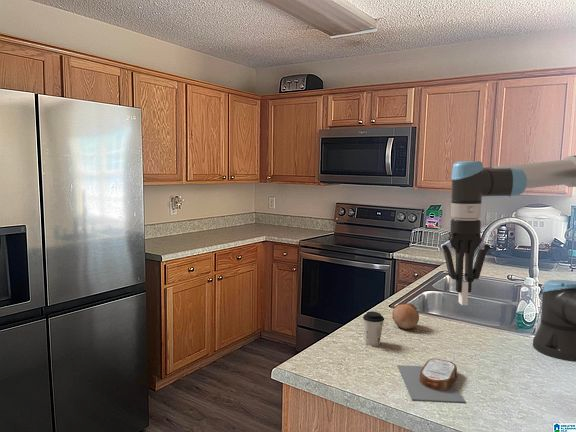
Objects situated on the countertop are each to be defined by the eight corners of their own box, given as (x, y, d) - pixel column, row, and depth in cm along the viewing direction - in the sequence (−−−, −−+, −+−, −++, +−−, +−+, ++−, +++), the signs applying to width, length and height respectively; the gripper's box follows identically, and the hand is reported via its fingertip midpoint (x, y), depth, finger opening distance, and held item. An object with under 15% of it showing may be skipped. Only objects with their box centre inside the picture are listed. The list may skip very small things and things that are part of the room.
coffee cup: (386, 346, 140) (387, 317, 139) (366, 348, 139) (367, 317, 138) (378, 338, 147) (379, 310, 145) (359, 339, 145) (360, 311, 144)
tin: (459, 370, 123) (429, 365, 127) (459, 360, 123) (428, 355, 127) (448, 393, 110) (415, 387, 114) (448, 381, 110) (415, 375, 114)
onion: (410, 333, 160) (420, 308, 162) (415, 335, 151) (426, 309, 152) (386, 322, 162) (396, 297, 163) (390, 323, 153) (400, 297, 154)
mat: (442, 368, 125) (442, 367, 125) (465, 402, 106) (465, 401, 106) (397, 366, 126) (397, 365, 126) (412, 400, 107) (412, 399, 107)
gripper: (445, 220, 112) (443, 308, 115) (496, 220, 112) (492, 308, 114) (436, 217, 120) (434, 299, 122) (484, 217, 119) (481, 299, 122)
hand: (462, 303), depth 118 cm, fingers closed
